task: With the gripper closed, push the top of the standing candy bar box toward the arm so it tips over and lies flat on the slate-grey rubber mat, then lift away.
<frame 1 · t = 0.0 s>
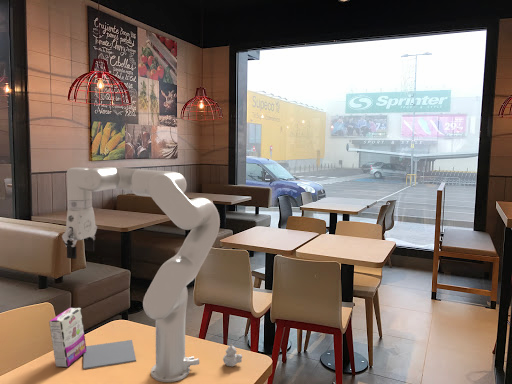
hand: (81, 254, 145), 37 cm above the table, tool pointing down, fingers open, 9 cm apart
rubber duck: (232, 365, 147), on the table
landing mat: (109, 354, 153), on the table
candy bar box: (71, 359, 148), on the table, touching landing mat
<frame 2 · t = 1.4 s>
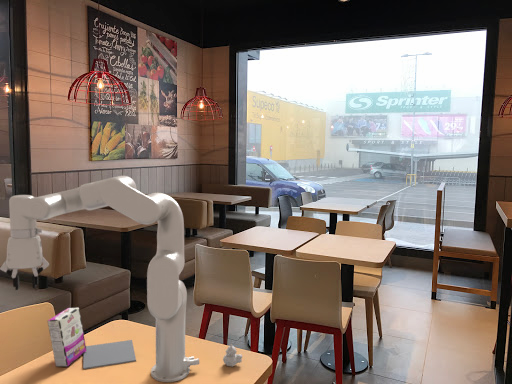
hand: (26, 287, 140), 27 cm above the table, tool pointing down, fingers open, 4 cm apart
nothing on the table moved.
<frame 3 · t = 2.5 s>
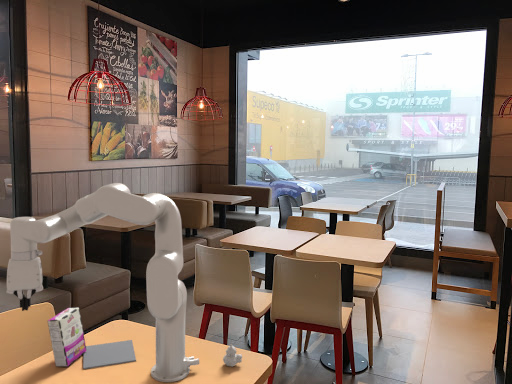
hand: (25, 309, 141), 20 cm above the table, tool pointing down, fingers closed
nothing on the table moved.
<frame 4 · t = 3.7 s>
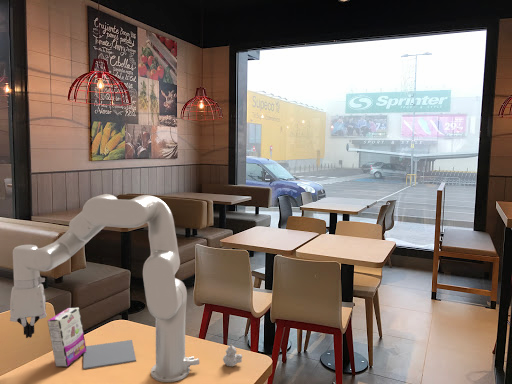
hand: (29, 335, 142), 11 cm above the table, tool pointing down, fingers closed
nothing on the table moved.
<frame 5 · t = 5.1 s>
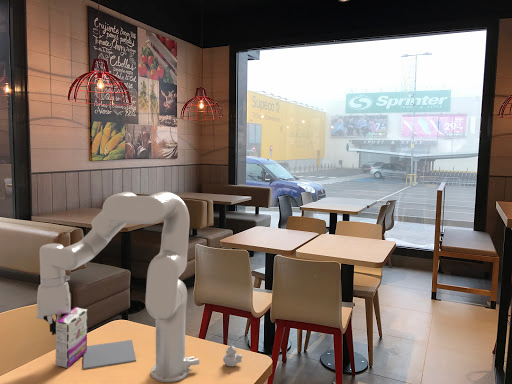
hand: (55, 333, 145), 10 cm above the table, tool pointing down, fingers closed
candy bar box: (71, 358, 148), on the table, touching gripper, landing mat
everything else where it was.
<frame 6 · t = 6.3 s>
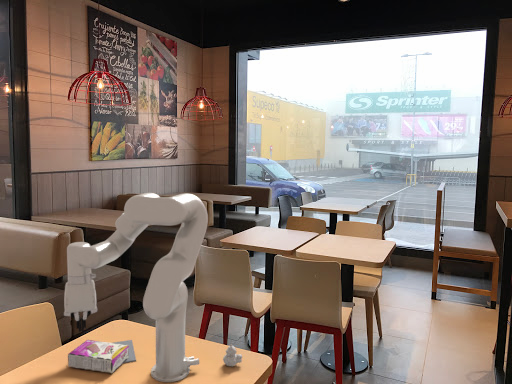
hand: (81, 329, 148), 10 cm above the table, tool pointing down, fingers closed
candy bar box: (77, 352, 147), point 3 cm above the table, touching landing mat
everything else where it was.
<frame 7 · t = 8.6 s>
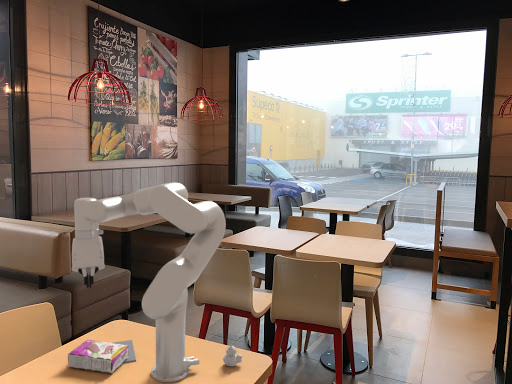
hand: (89, 286, 147), 26 cm above the table, tool pointing down, fingers closed
nothing on the table moved.
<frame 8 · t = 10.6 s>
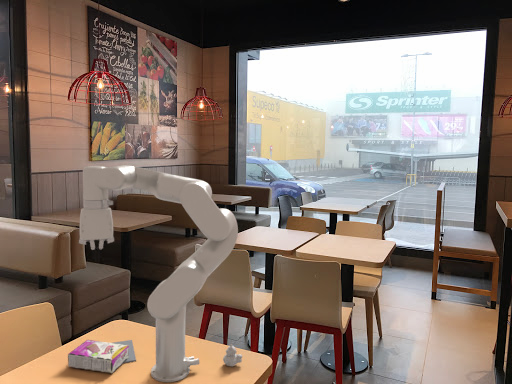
hand: (97, 260, 139), 37 cm above the table, tool pointing down, fingers closed
nothing on the table moved.
at the end: candy bar box tilted 91°; candy bar box inside the target area (5.7 cm from its centre), point 3.0 cm above the table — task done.
